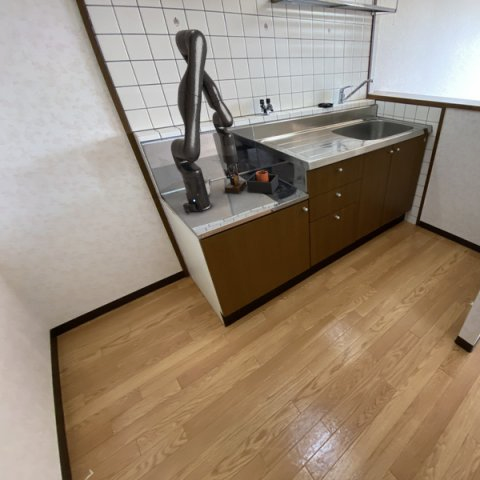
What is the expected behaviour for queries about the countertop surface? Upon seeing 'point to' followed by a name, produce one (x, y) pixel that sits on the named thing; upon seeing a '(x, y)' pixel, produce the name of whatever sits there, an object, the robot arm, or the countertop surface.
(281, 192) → the countertop surface
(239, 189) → the tap block
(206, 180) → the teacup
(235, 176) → the tap knob
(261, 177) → the cup
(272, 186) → the basin
